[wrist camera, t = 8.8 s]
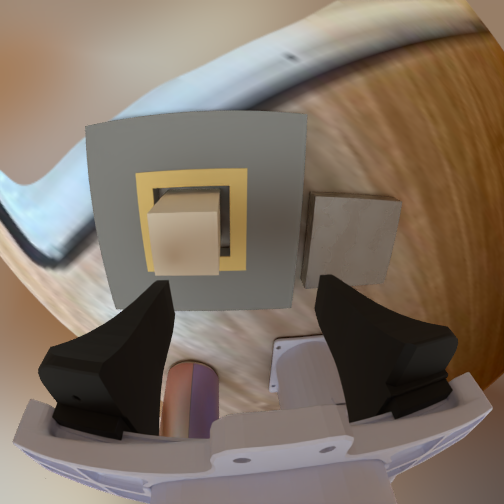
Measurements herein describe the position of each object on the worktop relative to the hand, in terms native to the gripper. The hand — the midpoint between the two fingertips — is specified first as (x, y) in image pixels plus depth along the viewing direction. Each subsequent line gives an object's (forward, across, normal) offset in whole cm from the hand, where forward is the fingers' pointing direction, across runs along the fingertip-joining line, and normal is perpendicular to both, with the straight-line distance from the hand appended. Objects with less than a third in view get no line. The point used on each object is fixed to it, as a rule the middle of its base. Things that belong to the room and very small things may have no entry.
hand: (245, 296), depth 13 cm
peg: (+10, +3, -1) cm, 10 cm away
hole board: (+10, +3, -1) cm, 10 cm away
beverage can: (+10, +6, +18) cm, 21 cm away
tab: (+10, -10, +1) cm, 14 cm away
